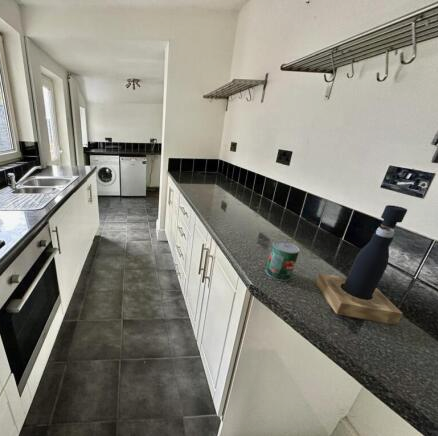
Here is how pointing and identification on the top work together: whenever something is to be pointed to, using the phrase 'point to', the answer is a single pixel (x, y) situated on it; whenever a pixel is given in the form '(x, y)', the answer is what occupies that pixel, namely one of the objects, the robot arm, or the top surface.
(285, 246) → the canned tomato
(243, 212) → the top surface
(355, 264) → the dark blue water bottle
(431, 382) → the top surface
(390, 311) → the hole plate
